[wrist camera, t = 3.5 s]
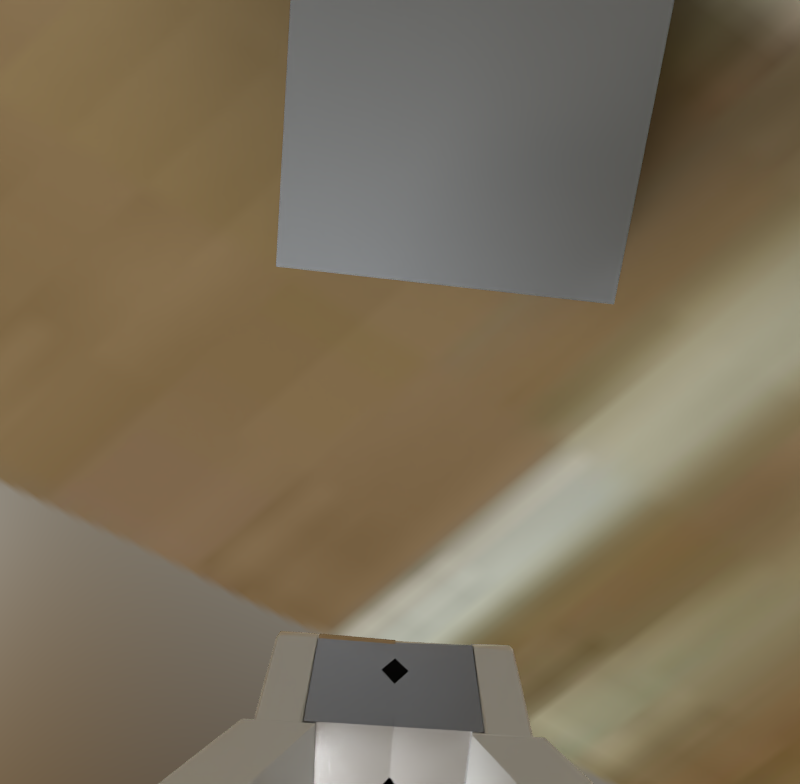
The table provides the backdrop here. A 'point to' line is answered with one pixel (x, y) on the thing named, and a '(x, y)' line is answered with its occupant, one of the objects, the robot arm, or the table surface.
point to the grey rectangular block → (468, 140)
